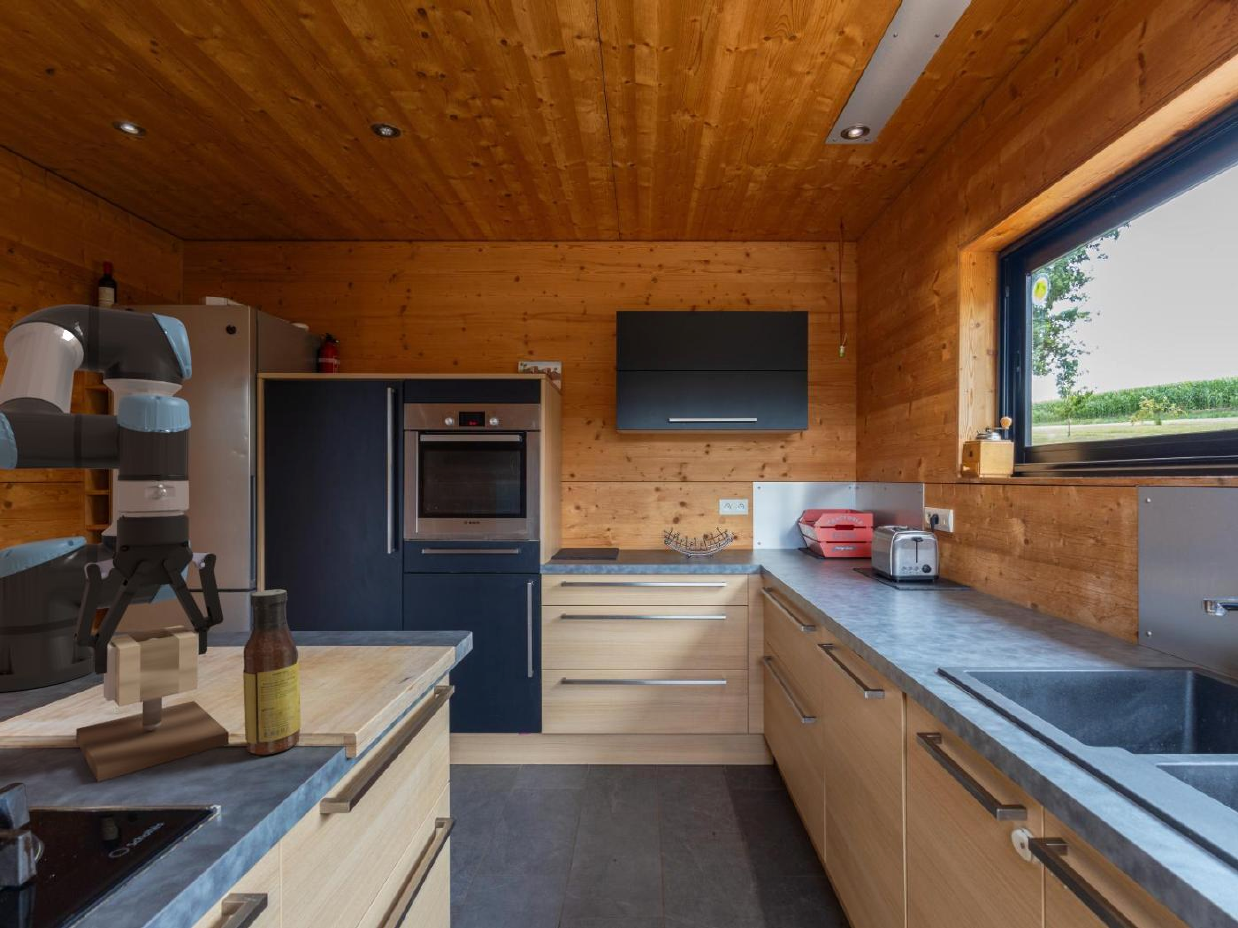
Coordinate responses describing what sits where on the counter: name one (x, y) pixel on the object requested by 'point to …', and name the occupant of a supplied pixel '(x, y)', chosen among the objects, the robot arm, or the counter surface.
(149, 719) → the rod stand
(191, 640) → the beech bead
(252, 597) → the sauce bottle
